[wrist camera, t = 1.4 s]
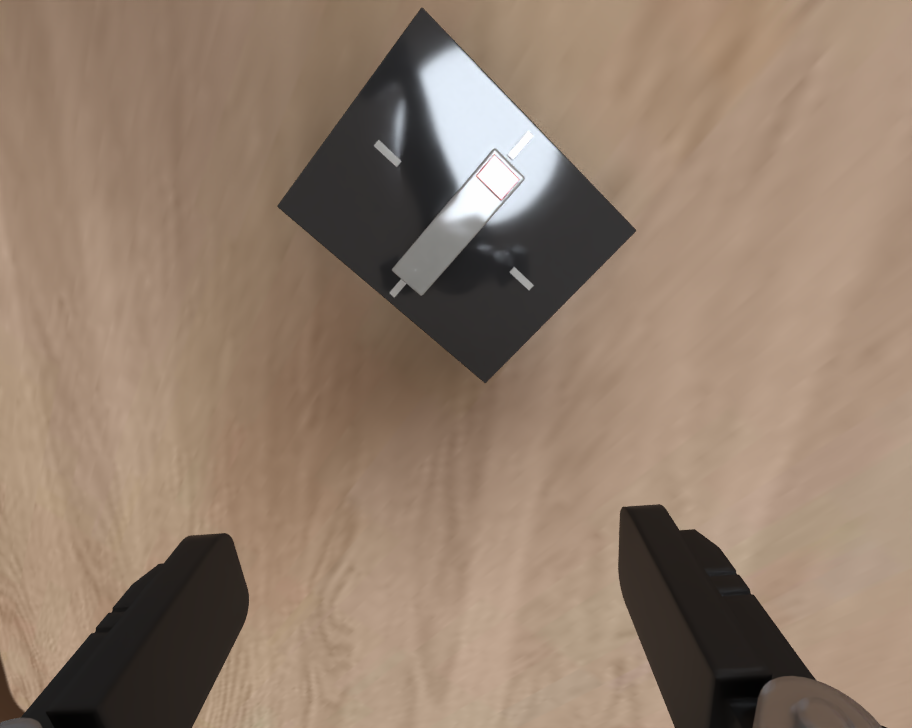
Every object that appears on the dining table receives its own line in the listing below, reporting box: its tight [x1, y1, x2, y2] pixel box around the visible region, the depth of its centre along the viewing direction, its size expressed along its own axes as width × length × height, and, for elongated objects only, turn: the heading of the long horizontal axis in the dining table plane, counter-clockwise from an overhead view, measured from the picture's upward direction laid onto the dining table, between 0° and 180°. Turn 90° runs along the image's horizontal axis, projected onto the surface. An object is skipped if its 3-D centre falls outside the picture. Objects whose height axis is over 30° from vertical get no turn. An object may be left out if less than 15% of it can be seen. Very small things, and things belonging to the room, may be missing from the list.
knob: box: [392, 148, 525, 296], centre depth 21 cm, size 6×2×6 cm, turn 138°
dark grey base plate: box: [277, 8, 636, 383], centre depth 25 cm, size 14×11×3 cm
